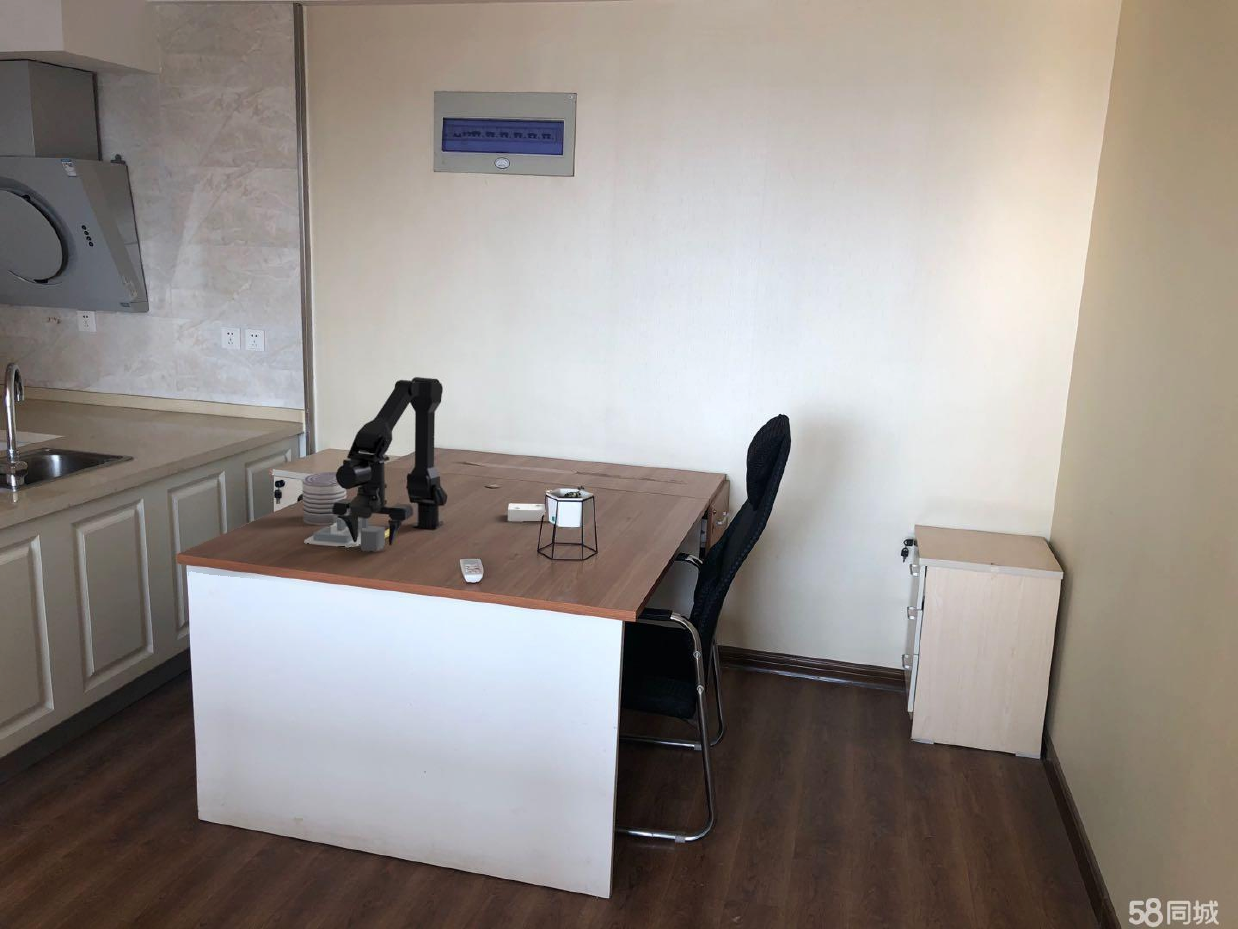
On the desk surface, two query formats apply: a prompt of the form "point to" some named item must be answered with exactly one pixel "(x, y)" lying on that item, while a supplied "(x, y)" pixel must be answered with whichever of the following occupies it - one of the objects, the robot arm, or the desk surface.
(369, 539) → the plug
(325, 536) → the board
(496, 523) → the desk surface
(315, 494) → the can
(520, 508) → the bracket
